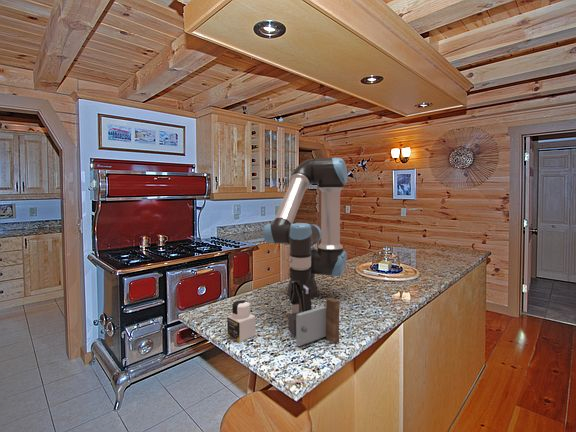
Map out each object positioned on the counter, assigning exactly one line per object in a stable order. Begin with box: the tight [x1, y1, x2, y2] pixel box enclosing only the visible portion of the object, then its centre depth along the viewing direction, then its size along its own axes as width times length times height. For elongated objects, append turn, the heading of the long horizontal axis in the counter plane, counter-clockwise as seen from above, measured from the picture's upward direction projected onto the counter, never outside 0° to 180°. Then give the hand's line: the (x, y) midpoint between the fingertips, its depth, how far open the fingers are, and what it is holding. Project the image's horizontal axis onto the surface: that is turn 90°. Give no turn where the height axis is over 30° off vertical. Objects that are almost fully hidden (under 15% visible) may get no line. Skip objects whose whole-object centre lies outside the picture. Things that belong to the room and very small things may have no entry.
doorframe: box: [297, 294, 340, 344], centre depth 116 cm, size 2×24×14 cm, turn 33°
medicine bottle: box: [226, 299, 257, 343], centre depth 111 cm, size 7×7×12 cm
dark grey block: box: [287, 312, 302, 338], centre depth 115 cm, size 7×6×6 cm
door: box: [295, 303, 327, 347], centre depth 106 cm, size 3×13×11 cm, turn 126°
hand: (299, 327), depth 116 cm, fingers open, 10 cm apart
